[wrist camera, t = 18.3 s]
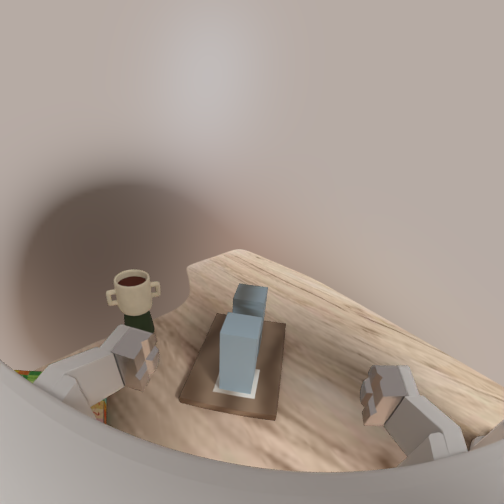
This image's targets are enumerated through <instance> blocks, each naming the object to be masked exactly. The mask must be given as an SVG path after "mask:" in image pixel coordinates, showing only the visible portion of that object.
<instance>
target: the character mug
mask: <svg viewBox="0 0 504 504" xmlns="http://www.w3.org/2000/svg"><path fill="white" fill-rule="evenodd" d="M151 287H155V288H156V292H154V293H151ZM114 288H115V289H114V290H109V291H107V292H106V297H107V302H108V305H109V306H114V305H118V307H119V309H120V310H121V312H122V313H124V319H125V325H126V326H129V327H133V328H136V329H140V330H143V331H146V332H150V333H153V332H154V325H153V321H152V318H151V315H150V312H149V310H150V309H151V307H152V303H153V302H152V298H153V297H158V296H160V293H161V291H160V283H159V282H156V281H155V282H150V276H149V274H148V273H147V272H144V271H142V270H136V269H134V270H126V271H123V272H121V273H119V274H117V275H116V276H115V278H114ZM114 294H116V298H117V300H114V301H112V298H111V295H114Z"/></svg>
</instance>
